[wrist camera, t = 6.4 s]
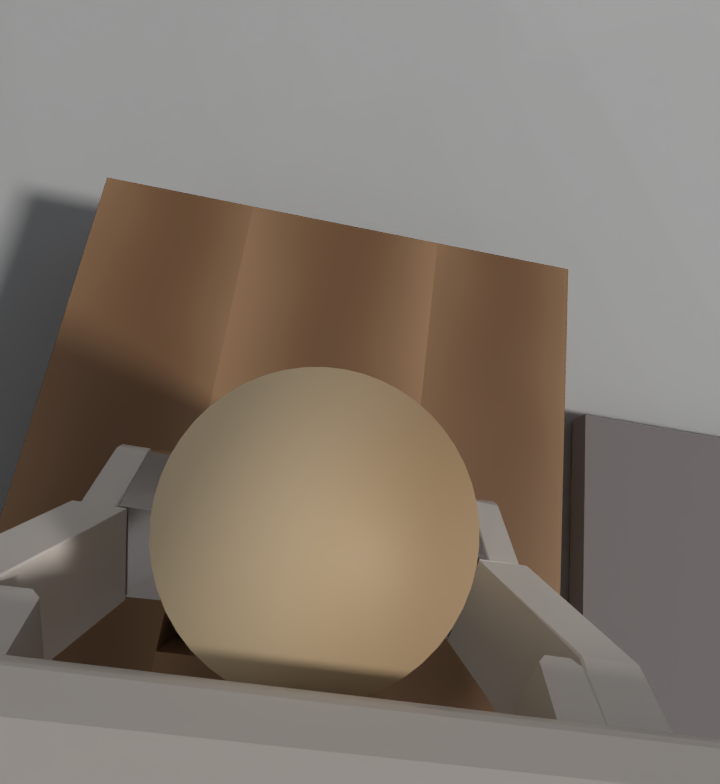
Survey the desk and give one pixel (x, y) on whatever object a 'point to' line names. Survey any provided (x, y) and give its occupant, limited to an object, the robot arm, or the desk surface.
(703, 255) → the desk surface
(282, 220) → the walnut holder
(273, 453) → the beech peg
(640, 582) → the charcoal mat
